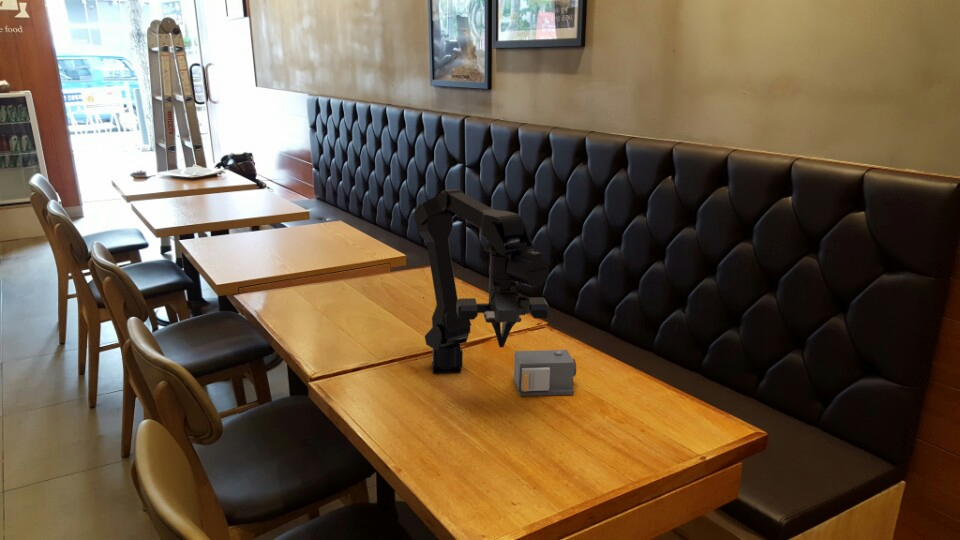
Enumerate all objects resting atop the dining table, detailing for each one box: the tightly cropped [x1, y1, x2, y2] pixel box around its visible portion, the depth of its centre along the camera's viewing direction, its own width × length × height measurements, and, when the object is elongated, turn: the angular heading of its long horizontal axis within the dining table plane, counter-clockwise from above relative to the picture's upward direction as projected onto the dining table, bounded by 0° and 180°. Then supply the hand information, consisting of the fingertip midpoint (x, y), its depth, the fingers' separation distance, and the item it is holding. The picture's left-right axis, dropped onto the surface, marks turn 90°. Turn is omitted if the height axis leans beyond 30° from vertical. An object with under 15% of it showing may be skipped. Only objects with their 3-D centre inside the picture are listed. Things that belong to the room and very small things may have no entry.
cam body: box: [513, 349, 577, 397], centre depth 150 cm, size 13×8×8 cm, turn 96°
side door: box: [521, 367, 550, 391], centre depth 145 cm, size 6×2×5 cm, turn 96°
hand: (501, 346), depth 142 cm, fingers closed
